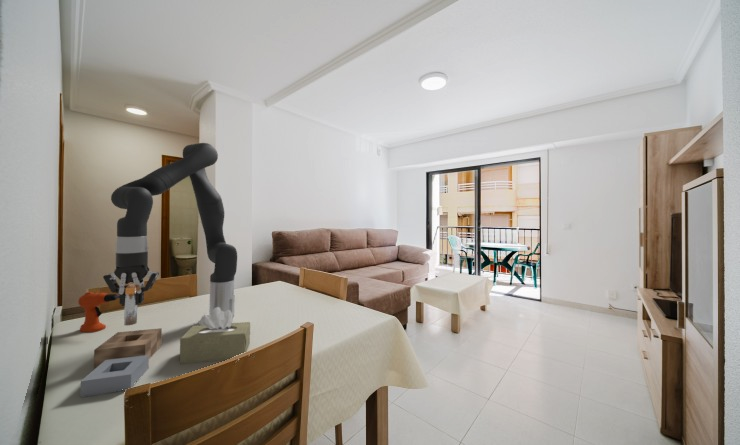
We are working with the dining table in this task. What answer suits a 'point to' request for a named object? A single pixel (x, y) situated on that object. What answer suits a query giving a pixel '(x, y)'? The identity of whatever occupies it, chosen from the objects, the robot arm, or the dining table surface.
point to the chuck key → (130, 305)
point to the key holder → (114, 375)
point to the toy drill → (94, 310)
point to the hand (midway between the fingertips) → (132, 304)
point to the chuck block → (128, 345)
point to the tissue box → (214, 338)
